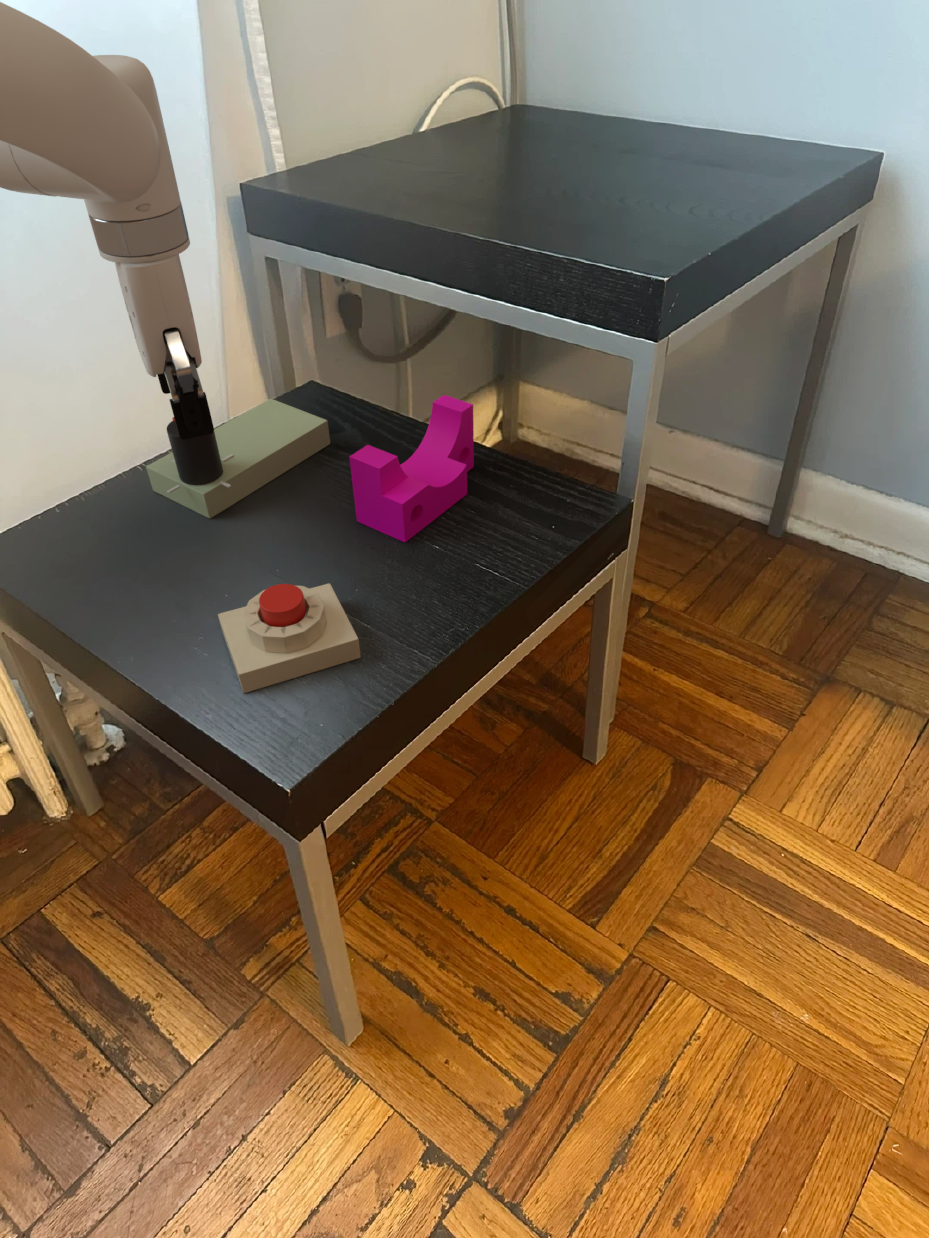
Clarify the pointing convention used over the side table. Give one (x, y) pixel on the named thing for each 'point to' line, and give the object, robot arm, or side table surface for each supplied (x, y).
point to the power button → (282, 605)
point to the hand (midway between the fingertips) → (187, 411)
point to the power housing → (289, 640)
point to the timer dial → (195, 457)
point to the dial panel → (246, 456)
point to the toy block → (416, 474)
